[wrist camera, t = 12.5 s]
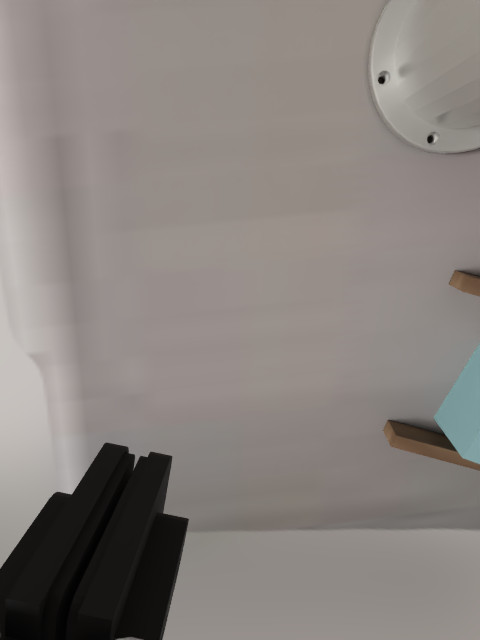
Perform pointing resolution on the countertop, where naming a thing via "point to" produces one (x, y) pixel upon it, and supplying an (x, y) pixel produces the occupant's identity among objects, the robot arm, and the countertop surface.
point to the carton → (464, 411)
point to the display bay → (424, 439)
